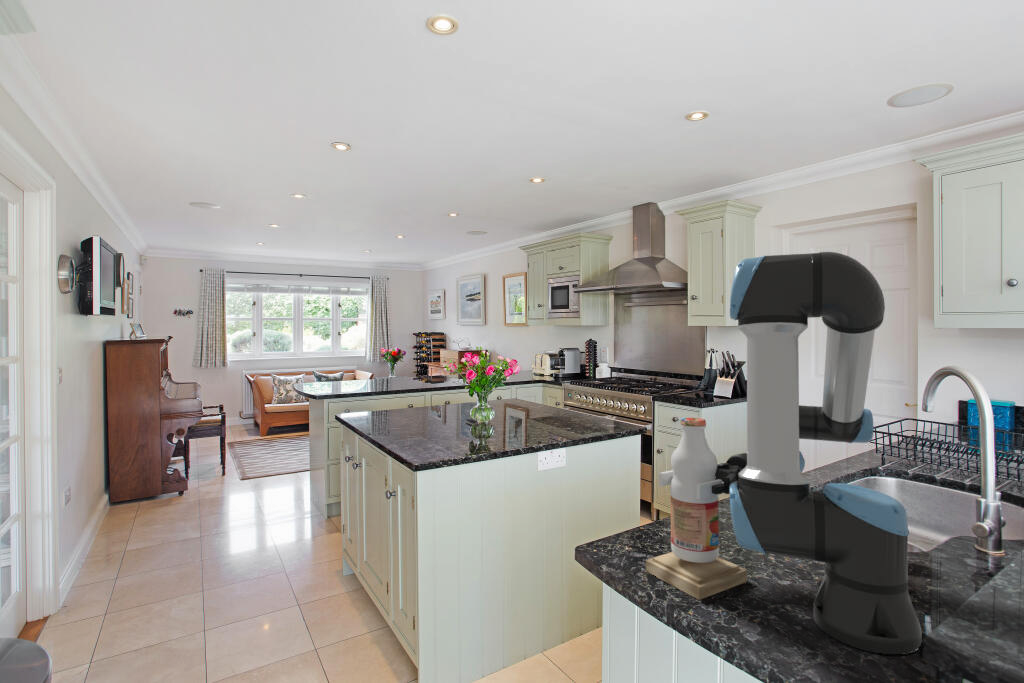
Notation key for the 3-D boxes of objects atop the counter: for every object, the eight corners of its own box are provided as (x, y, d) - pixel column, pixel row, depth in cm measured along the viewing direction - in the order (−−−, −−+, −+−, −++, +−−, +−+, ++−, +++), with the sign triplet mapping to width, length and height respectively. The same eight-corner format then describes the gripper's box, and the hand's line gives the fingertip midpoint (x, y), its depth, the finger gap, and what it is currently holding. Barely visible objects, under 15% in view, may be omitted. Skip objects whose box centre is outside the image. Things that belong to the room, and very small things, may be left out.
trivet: (747, 581, 106) (746, 566, 106) (699, 600, 99) (699, 584, 99) (691, 556, 118) (691, 543, 118) (645, 571, 111) (645, 557, 111)
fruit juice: (666, 544, 113) (665, 415, 113) (711, 545, 113) (709, 415, 112) (676, 563, 104) (675, 423, 104) (725, 564, 103) (724, 423, 103)
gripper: (797, 499, 108) (724, 520, 96) (709, 475, 127) (640, 490, 116) (797, 463, 107) (724, 479, 96) (709, 444, 126) (639, 456, 115)
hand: (678, 485), depth 106 cm, fingers closed on fruit juice, 9 cm apart
